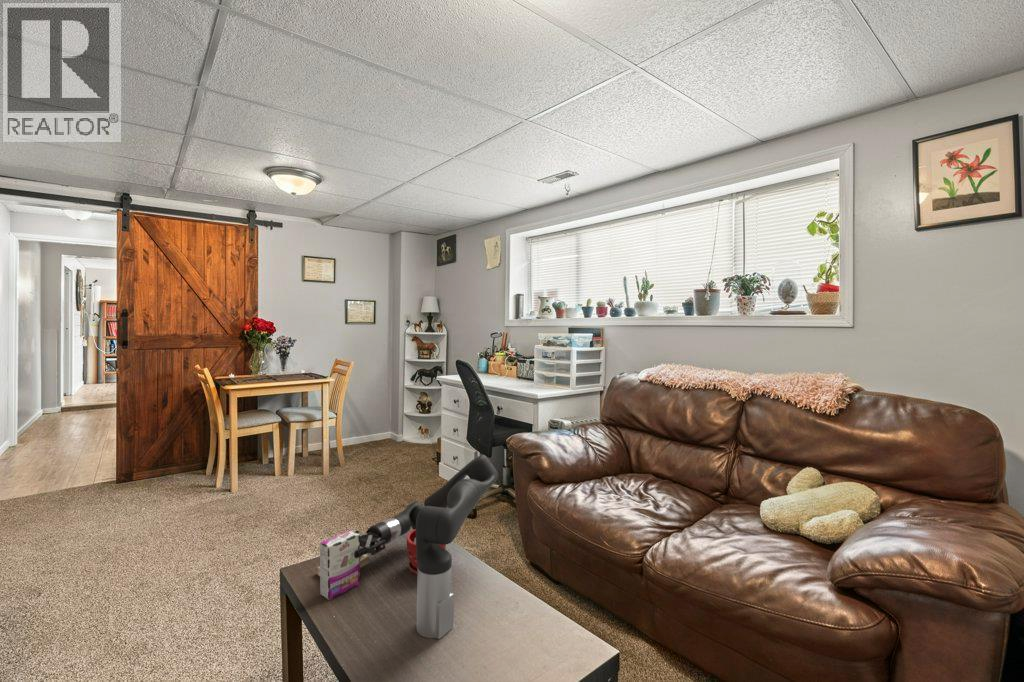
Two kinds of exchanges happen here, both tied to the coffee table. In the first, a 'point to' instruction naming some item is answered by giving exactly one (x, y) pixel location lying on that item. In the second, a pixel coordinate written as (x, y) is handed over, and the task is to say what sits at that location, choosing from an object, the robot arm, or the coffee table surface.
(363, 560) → the birch collar
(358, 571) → the candy bar box
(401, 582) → the coffee table surface
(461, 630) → the coffee table surface
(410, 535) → the plant pot
